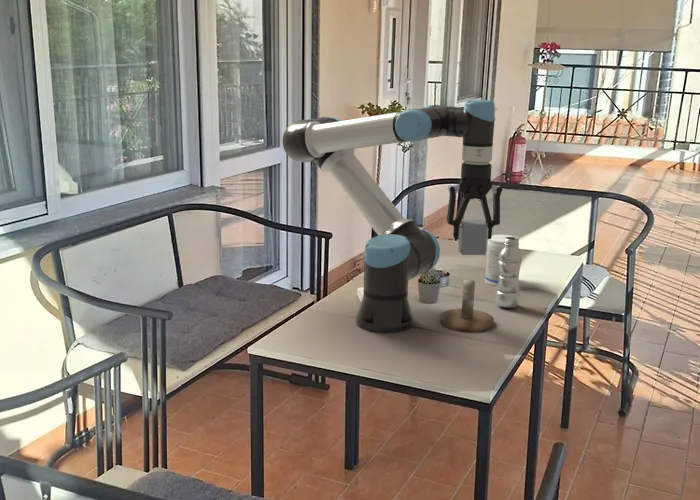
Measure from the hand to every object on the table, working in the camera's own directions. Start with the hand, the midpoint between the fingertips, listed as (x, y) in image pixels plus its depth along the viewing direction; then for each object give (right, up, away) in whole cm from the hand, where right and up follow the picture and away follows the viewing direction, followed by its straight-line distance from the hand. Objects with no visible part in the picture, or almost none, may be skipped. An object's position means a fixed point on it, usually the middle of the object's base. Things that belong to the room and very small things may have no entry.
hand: (471, 250), depth 205 cm
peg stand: (0, -19, +5) cm, 20 cm away
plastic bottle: (+13, -16, +19) cm, 28 cm away
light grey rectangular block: (0, 0, 0) cm, 0 cm away
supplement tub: (+15, -10, +40) cm, 44 cm away
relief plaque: (-23, -15, +21) cm, 35 cm away
